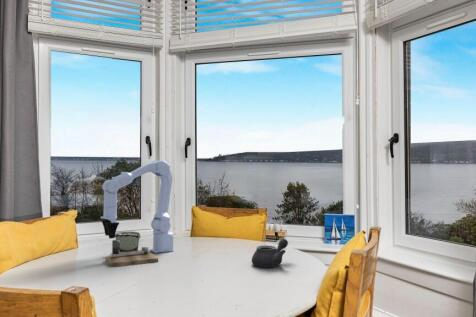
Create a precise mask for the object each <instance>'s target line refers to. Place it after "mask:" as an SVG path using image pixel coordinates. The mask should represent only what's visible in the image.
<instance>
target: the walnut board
mask: <svg viewBox="0 0 476 317" xmlns="http://www.w3.org/2000/svg"><path fill="white" fill-rule="evenodd" d="M105 262H106V263H107V264H108V266H109V268H114V267H123V266H130V265H131V266H133V265H140V264H150V263H158V262H159V257H157V256H156V255H155V254H153V252H149V253H147V254H137V255H128V256H118V257H111V256H105Z"/></svg>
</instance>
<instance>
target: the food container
mask: <svg viewBox="0 0 476 317" xmlns="http://www.w3.org/2000/svg"><path fill="white" fill-rule="evenodd" d="M113 239H115V240H120V252H128V251H138V250H139V243H140V239H141V233H140V232H138V231H118V232H116V233H115V237H114V238H113Z"/></svg>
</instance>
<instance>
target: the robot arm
mask: <svg viewBox="0 0 476 317" xmlns="http://www.w3.org/2000/svg"><path fill="white" fill-rule="evenodd" d="M147 173H152V174H154V175H155V176H157V178H158V179H159V180H160V186H159V194H158V201H157V208H156V212H155V213H154V215H153V219H152V221H151V223H150V226H151V229H153V232H152V236H153V237H152V248H150V251H152V253H165V252H174V233H173V232H172V231H170V229H171V217H170V215H169V207H170V199H171V191H172V187H173V186H172V184H173V175H172V172H171V166H170V164H169V163H168V162H167V161H166V160H153V161H150V162H147V163H145V164H144V165H141V166H140V167H137V168H136V169H134V170H132V171H130V172H127V171H121V172H120V174H119V175H116V176H112V177H111V179H106V180H105V181H104V182H103V183H102V186H101V189H102V190H103V216H100V219H101V223H102V226H103V230H104V235H105V236H106V237H107V236H108V238H109V239H115V238H116V237H115V234H116V233H117V229H118V227H119V224H120V222H118V221H117V219H118V216H117V214H118V211H117V210H118V191H119V189H122V188H124V187H127V186H128V185H130V184H132V183H133V180H134V179H136V178H138V177H140V176H143V175H145V174H147ZM114 237H115V238H114Z"/></svg>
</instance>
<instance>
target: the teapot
mask: <svg viewBox="0 0 476 317" xmlns="http://www.w3.org/2000/svg"><path fill="white" fill-rule="evenodd" d="M288 245H289V241H288V240H287V238H281V239H280V240H279V242H278V244H277V247H276V246H274V245H258V246H256V250H255V252H254V253H253V255H252V257H251V263H252V265H254V266H255V267H260V268H274V267H277V266H280V265H281V263H282V262H283V257H284V256H283V255H284V254H285V253H286V250H285V249H286V248H287V246H288Z"/></svg>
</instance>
